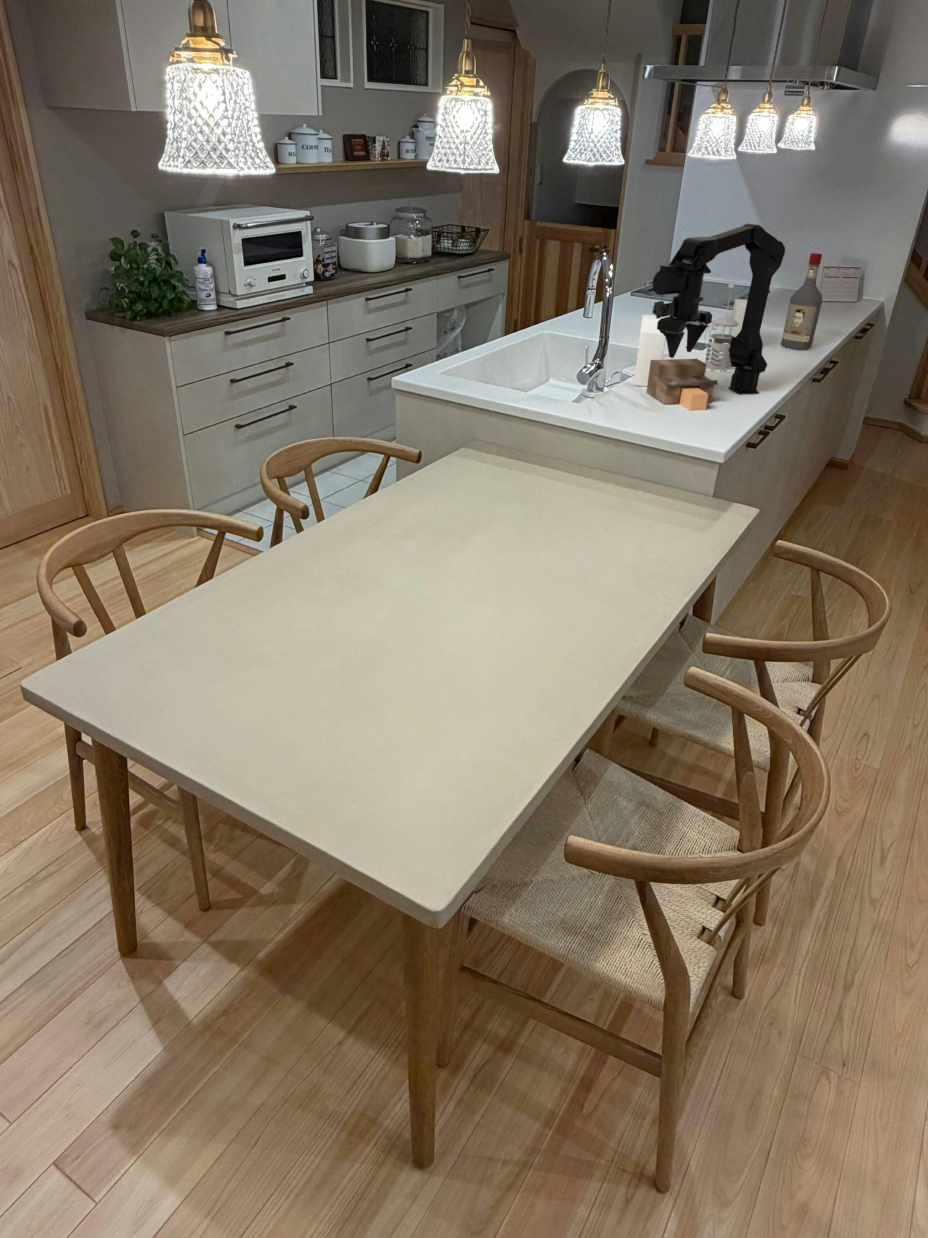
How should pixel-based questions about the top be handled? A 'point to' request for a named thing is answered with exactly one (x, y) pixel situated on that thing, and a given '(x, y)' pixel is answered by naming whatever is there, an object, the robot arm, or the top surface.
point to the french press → (720, 343)
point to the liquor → (803, 310)
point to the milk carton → (648, 348)
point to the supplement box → (738, 316)
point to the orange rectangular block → (692, 398)
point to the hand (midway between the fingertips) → (680, 354)
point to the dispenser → (677, 379)
